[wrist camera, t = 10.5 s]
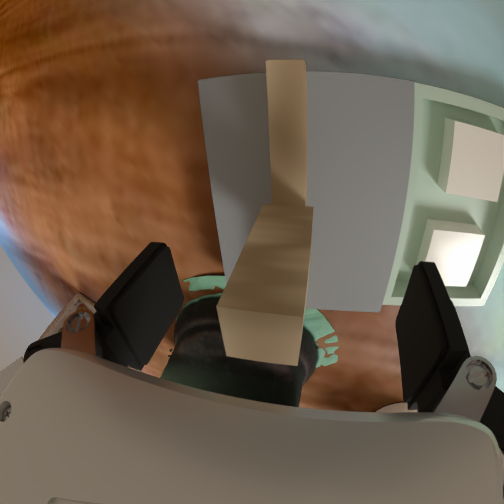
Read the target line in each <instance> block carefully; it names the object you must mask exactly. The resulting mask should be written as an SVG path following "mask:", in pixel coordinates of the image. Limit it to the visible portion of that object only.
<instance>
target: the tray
mask: <svg viewBox="0 0 504 504" xmlns="http://www.w3.org/2000/svg"><path fill="white" fill-rule="evenodd" d="M445 118H450V119H454V120H458V121H462V122H465V123H469V124H473V125H476V126H480V127H483V128H486V129H489V130H492V131H496V132H498V133H501V134H503V135H504V108H502V107H500V106H497V105H494V104H492V103H489V102H486V101H483V100H480V99H477V98H474V97H471V96H468V95H464V94H461V93H457V92H454V91H450V90H446V89H442V88H438V87H434V86H429V85H425V84H420V83H415V82H414V129H413V144H412V156H411V166H410V175H409V183H408V190H407V197H406V203H405V209H404V215H403V221H402V226H401V231H400V236H399V241H398V245H397V250H396V254H395V259H394V263H393V267H392V271H391V275H390V279H389V282H388V286H387V290H386V293H385V297H384V300H383V303H382V305H401V304H402V301H403V298H404V295H405V292H406V289H407V286H408V283H409V280H410V276H411V273H412V270H413V267H414V265H416V261H417V258H418V254H419V250H420V247H421V243H422V239H423V235H424V230H425V226H426V221H427V219H431V220H441V221H450V222H459V223H467V224H475V225H477V226H478V227H479V228H480V229H481V231H482V232H483V233H484V234H485V237H484V240H483V243H482V246H481V249H480V252H479V255H478V258H477V260H476V263H475V266H474V268H473V271H472V273H471V276H470V278H469V281H468V283H467V286H445V287H446V290H447V292H448V295H449V297H450V300H452V302H453V304H454V306H484V304H485V302H486V300H487V298H488V296H489V294H490V292H491V290H492V288H493V285H494V283H495V281H496V279H497V277H498V274H499V272H500V270H501V267H502V265H503V262H504V173H503V179H502V184H501V188H500V193H499V197H498V201H497V202H494V201H488V200H483V199H478V198H472V197H466V196H460V195H454V194H447V193H445V192H444V191H443V190H442V189H441V188H440V187H439V186H438V185H437V183H438V176H439V170H440V162H441V154H442V145H443V134H444V119H445Z"/></svg>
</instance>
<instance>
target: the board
mask: <svg viewBox="0 0 504 504" xmlns="http://www.w3.org/2000/svg"><path fill="white" fill-rule="evenodd" d="M306 74H307V108H308V176H307V206H312V207H314V210H313V229H312V245H311V257H310V268H309V279H308V288H307V298H306V306H305V308H310V309H325V310H342V311H361V312H380V310H381V307H382V303H383V300H384V297H385V293H386V290H387V286H388V282H389V279H390V275H391V271H392V267H393V263H394V259H395V254H396V250H397V245H398V241H399V236H400V231H401V226H402V221H403V215H404V209H405V203H406V197H407V190H408V183H409V175H410V166H411V156H412V144H413V129H414V81H409V80H403V79H397V78H391V77H384V76H376V75H367V74H357V73H344V72H323V71H306ZM198 88H199V97H200V106H201V115H202V123H203V131H204V139H205V147H206V154H207V162H208V169H209V176H210V183H211V190H212V197H213V204H214V211H215V217H216V224H217V230H218V237H219V243H220V249H221V255H222V261H223V267H224V273H225V279H226V284H227V282H228V280H229V278H230V276H231V273H232V271H233V269H234V267H235V265H236V262H237V260H238V258H239V256H240V254H241V251H242V249H243V247H244V245H245V243H246V241H247V238H248V236H249V234H250V232H251V230H252V228H253V225H254V223H255V221H256V219H257V217H258V215H259V212H260V210H261V208H262V206H263V204H272V195H271V164H270V138H269V115H268V95H267V76H266V72H264V73H251V74H240V75H231V76H223V77H215V78H209V79H202V80H198Z"/></svg>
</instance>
